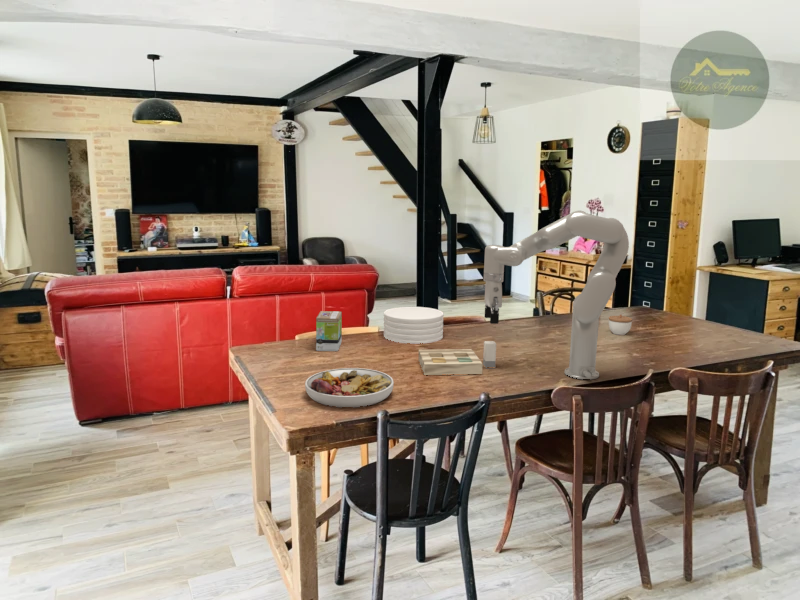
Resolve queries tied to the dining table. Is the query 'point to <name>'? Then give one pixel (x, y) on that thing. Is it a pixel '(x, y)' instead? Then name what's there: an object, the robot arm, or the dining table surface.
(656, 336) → the dining table surface
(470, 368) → the socket block
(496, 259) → the robot arm
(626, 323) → the lidded jar
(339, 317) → the tea box
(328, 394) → the bowl
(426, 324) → the plate stack
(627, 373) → the dining table surface
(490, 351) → the plug
